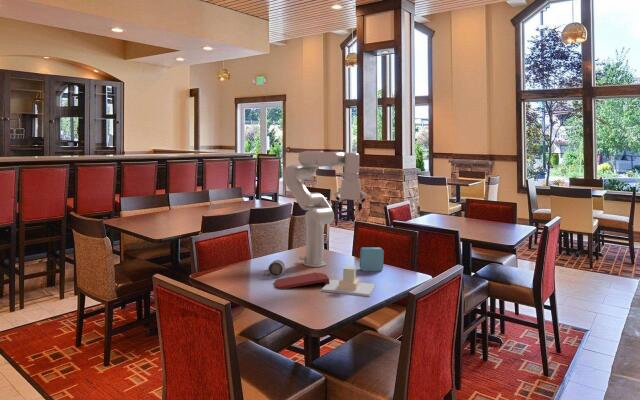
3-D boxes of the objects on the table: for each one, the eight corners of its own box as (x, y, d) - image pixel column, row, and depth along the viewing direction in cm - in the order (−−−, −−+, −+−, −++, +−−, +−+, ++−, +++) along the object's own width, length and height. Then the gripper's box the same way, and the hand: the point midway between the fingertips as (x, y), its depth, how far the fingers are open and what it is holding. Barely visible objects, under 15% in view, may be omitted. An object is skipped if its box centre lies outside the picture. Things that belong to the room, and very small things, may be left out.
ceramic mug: (285, 273, 239) (285, 258, 238) (283, 277, 231) (282, 262, 230) (265, 272, 240) (264, 258, 239) (262, 276, 231) (261, 261, 231)
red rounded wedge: (277, 297, 212) (330, 287, 216) (276, 287, 211) (329, 277, 216) (275, 289, 224) (325, 280, 228) (274, 279, 223) (324, 270, 228)
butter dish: (321, 291, 210) (322, 282, 210) (330, 281, 225) (330, 273, 225) (369, 296, 204) (369, 287, 204) (375, 286, 219) (375, 278, 219)
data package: (381, 268, 252) (382, 247, 251) (383, 271, 248) (384, 249, 246) (359, 268, 251) (360, 247, 249) (361, 271, 246) (361, 249, 245)
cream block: (342, 281, 213) (343, 268, 212) (345, 278, 217) (345, 265, 217) (353, 282, 211) (354, 269, 211) (355, 279, 216) (356, 266, 215)
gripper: (333, 176, 233) (332, 210, 235) (366, 178, 229) (365, 212, 231) (336, 176, 241) (335, 208, 242) (369, 177, 236) (368, 210, 238)
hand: (350, 210), depth 237 cm, fingers open, 9 cm apart
